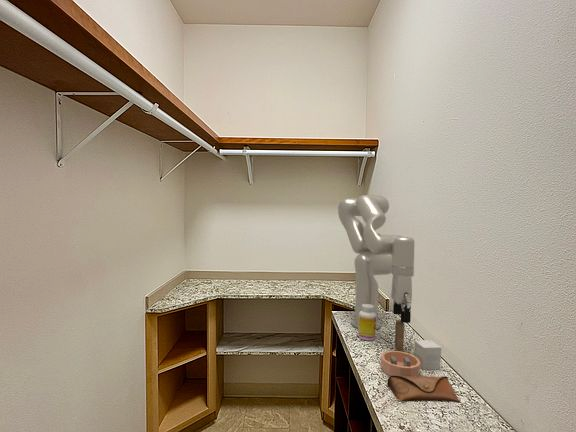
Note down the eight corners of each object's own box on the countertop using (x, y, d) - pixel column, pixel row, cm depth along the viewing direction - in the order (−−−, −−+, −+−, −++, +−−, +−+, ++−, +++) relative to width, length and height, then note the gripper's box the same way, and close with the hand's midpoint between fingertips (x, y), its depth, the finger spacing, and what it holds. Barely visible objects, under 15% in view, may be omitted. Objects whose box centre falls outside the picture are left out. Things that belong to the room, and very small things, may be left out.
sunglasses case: (398, 402, 88) (394, 374, 91) (389, 402, 94) (385, 375, 97) (463, 402, 89) (457, 374, 92) (450, 402, 95) (445, 376, 98)
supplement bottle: (375, 342, 127) (377, 308, 127) (358, 340, 128) (359, 307, 128) (374, 335, 133) (376, 303, 133) (358, 333, 135) (359, 302, 134)
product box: (412, 361, 112) (414, 339, 112) (429, 360, 113) (430, 339, 113) (423, 370, 106) (424, 347, 106) (440, 369, 107) (441, 347, 107)
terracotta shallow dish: (377, 360, 112) (377, 349, 112) (412, 362, 111) (413, 351, 111) (385, 378, 100) (386, 366, 100) (425, 380, 99) (425, 368, 99)
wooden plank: (394, 346, 123) (395, 320, 123) (399, 346, 123) (401, 320, 123) (397, 351, 119) (398, 323, 119) (403, 351, 119) (404, 324, 119)
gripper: (386, 267, 129) (385, 310, 129) (398, 275, 112) (397, 325, 112) (406, 267, 129) (404, 311, 129) (421, 275, 111) (420, 326, 111)
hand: (401, 318), depth 120 cm, fingers open, 9 cm apart
